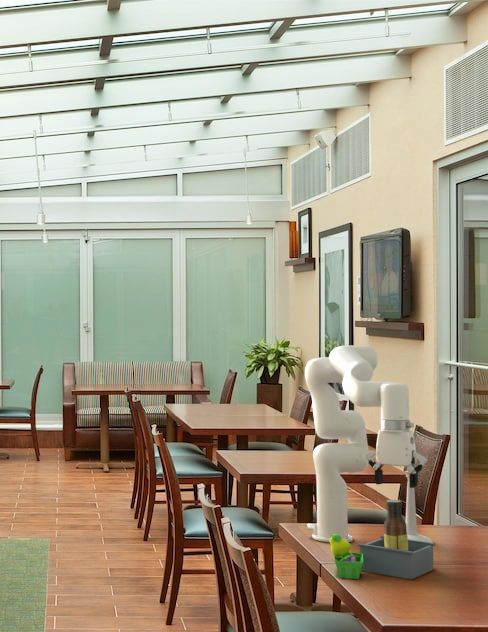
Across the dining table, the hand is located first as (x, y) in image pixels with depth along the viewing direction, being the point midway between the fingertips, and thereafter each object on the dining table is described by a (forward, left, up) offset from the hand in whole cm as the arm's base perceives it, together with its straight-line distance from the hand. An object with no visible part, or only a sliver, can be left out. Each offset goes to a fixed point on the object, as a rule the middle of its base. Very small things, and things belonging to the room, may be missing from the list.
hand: (396, 485), depth 275 cm
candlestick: (-12, +40, -24) cm, 49 cm away
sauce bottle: (0, 0, -24) cm, 24 cm away
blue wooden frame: (0, 0, -24) cm, 24 cm away
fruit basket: (-8, -15, -24) cm, 30 cm away
